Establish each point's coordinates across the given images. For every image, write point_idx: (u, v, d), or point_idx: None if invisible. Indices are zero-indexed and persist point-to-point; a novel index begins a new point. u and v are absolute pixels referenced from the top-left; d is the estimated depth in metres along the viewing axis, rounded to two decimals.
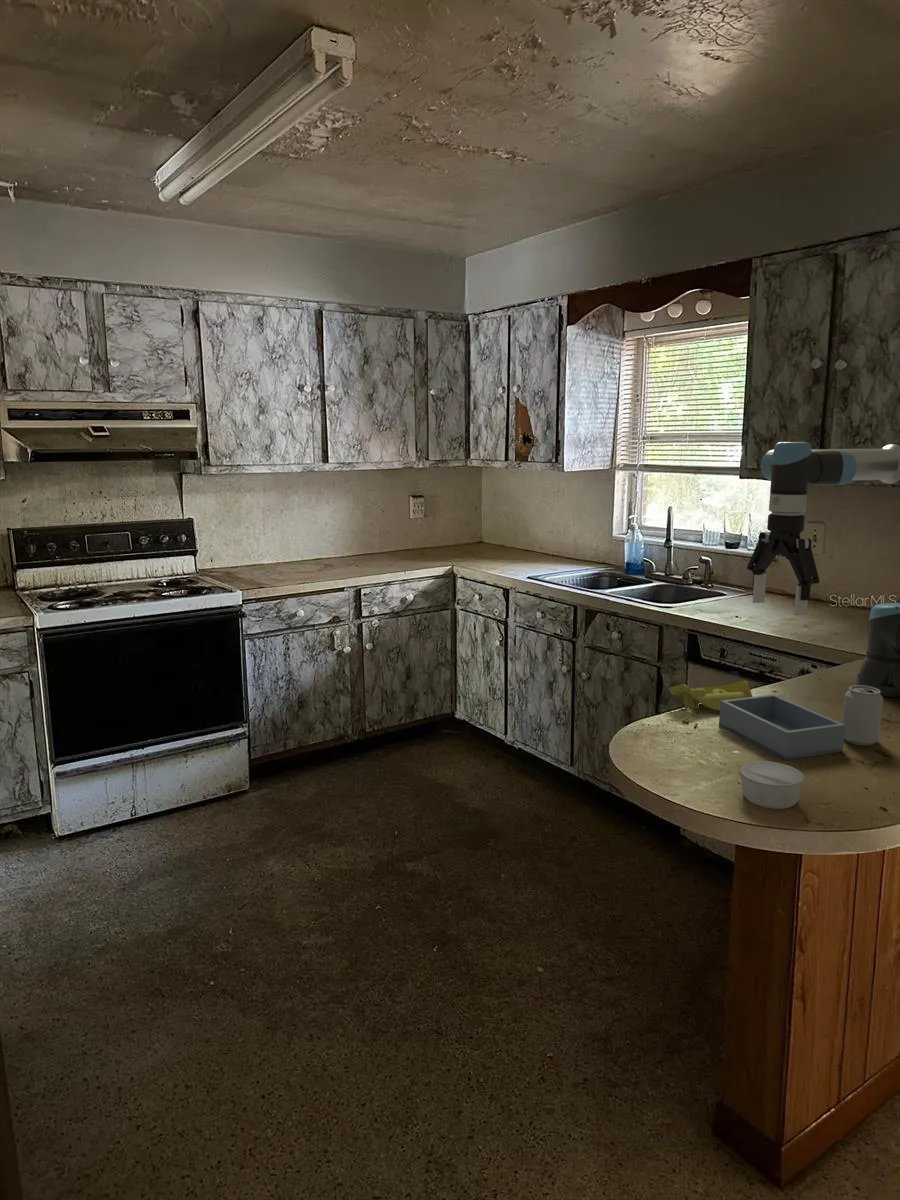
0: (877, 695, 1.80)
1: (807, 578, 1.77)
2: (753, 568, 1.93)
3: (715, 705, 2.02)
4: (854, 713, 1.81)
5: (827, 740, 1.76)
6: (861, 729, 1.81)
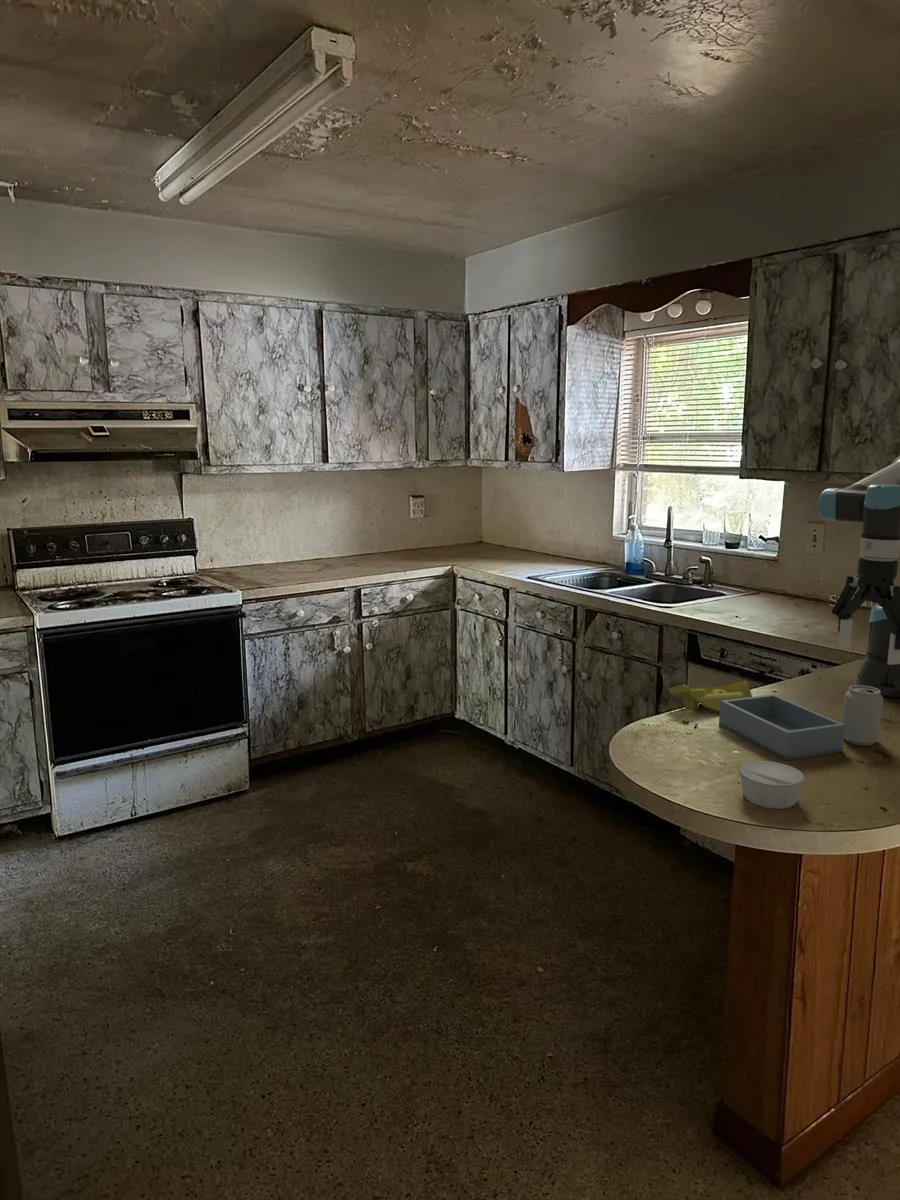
0: (877, 695, 1.80)
1: None
2: (839, 613, 1.86)
3: (715, 705, 2.02)
4: (854, 713, 1.81)
5: (827, 740, 1.76)
6: (861, 729, 1.81)
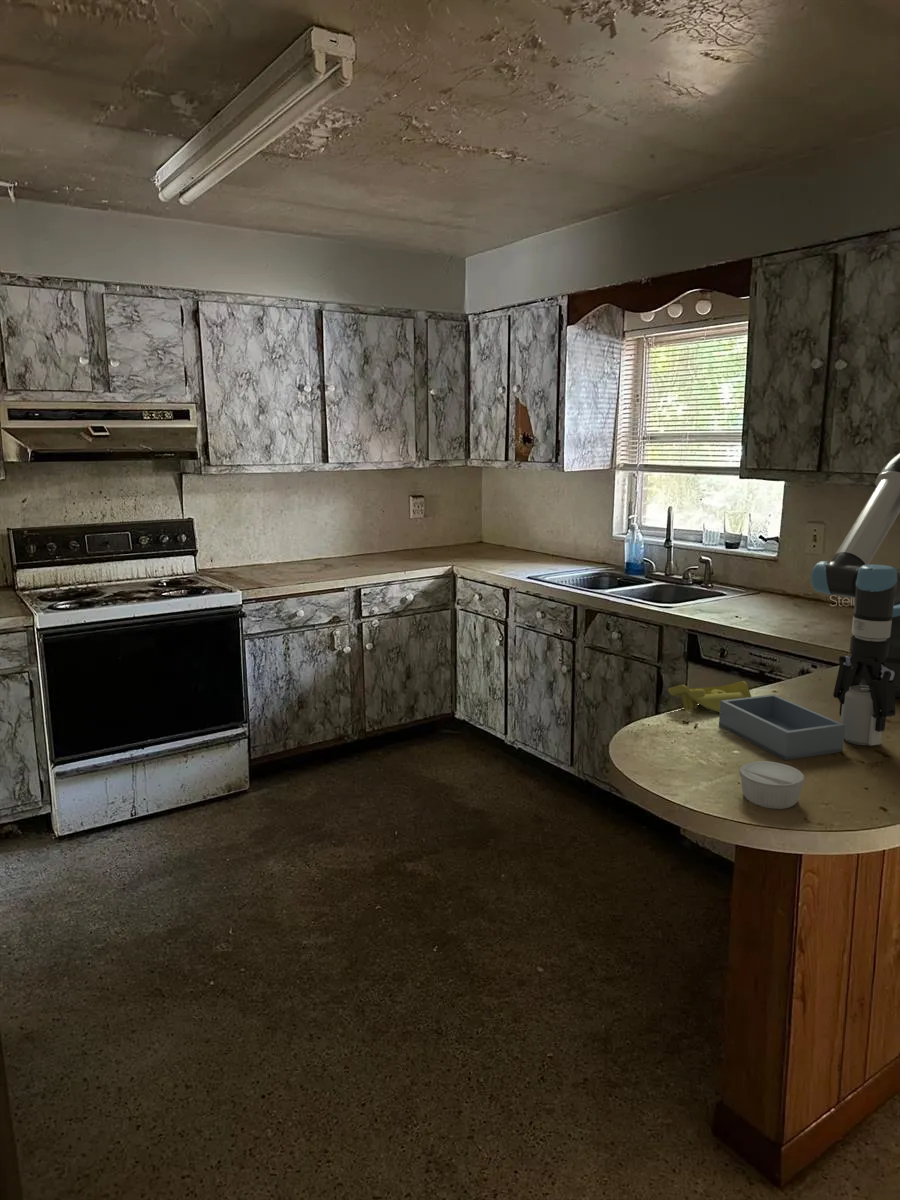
0: None
1: (884, 711, 1.77)
2: (840, 697, 1.88)
3: (714, 706, 2.02)
4: (854, 713, 1.81)
5: (827, 740, 1.76)
6: (861, 729, 1.81)
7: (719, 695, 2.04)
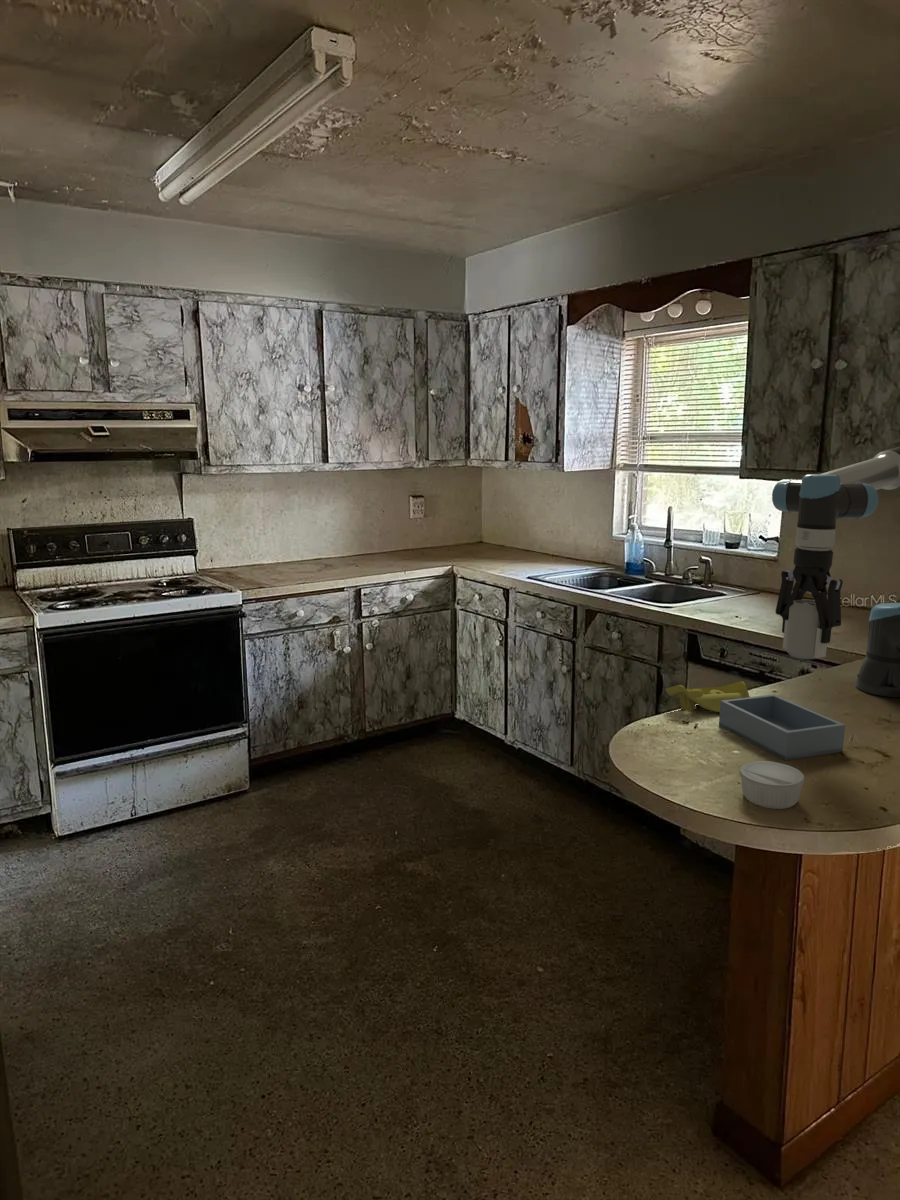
0: None
1: (830, 621, 1.74)
2: (782, 613, 1.84)
3: (712, 706, 2.02)
4: (800, 626, 1.78)
5: (827, 740, 1.76)
6: (807, 642, 1.78)
7: (717, 695, 2.04)
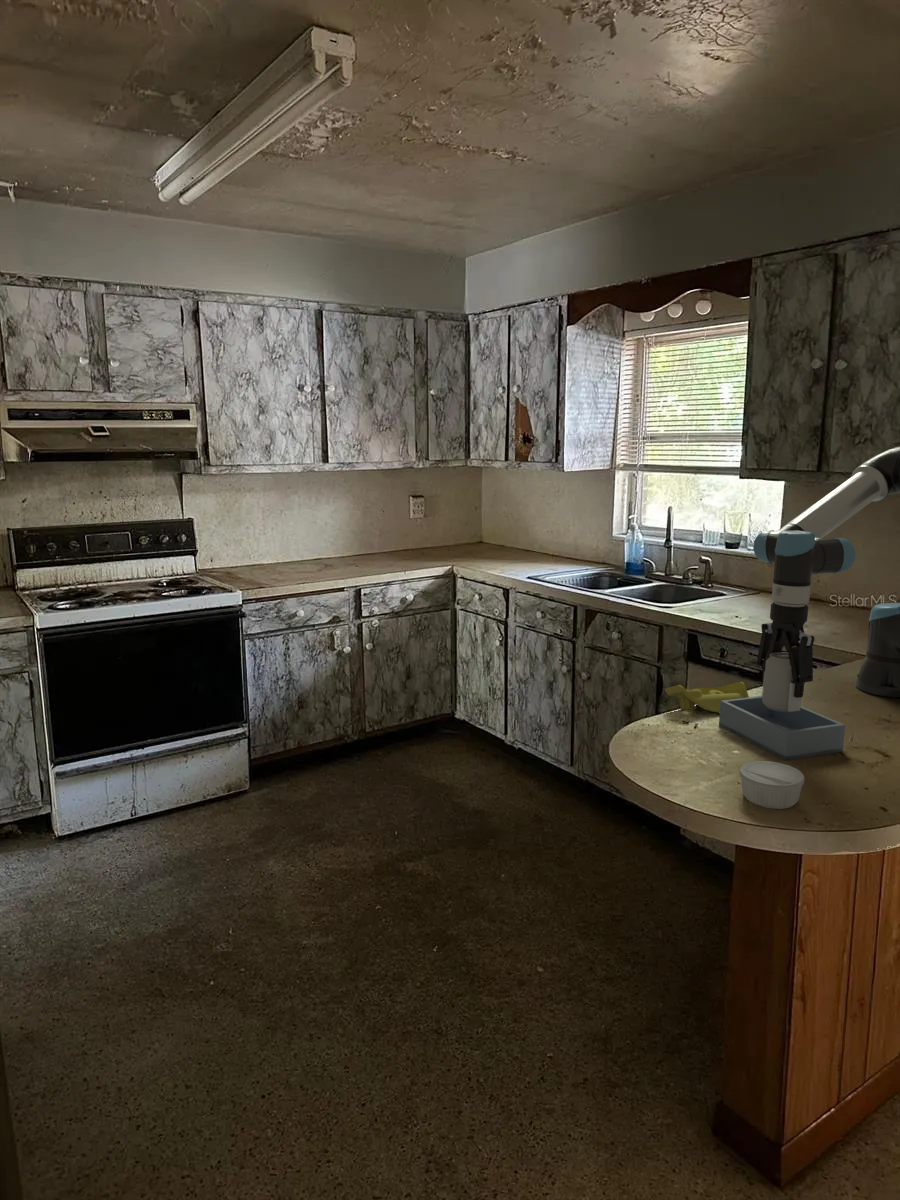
0: None
1: (801, 676, 1.76)
2: (762, 664, 1.88)
3: (711, 706, 2.01)
4: (773, 679, 1.81)
5: (827, 740, 1.76)
6: (780, 695, 1.81)
7: (716, 696, 2.04)
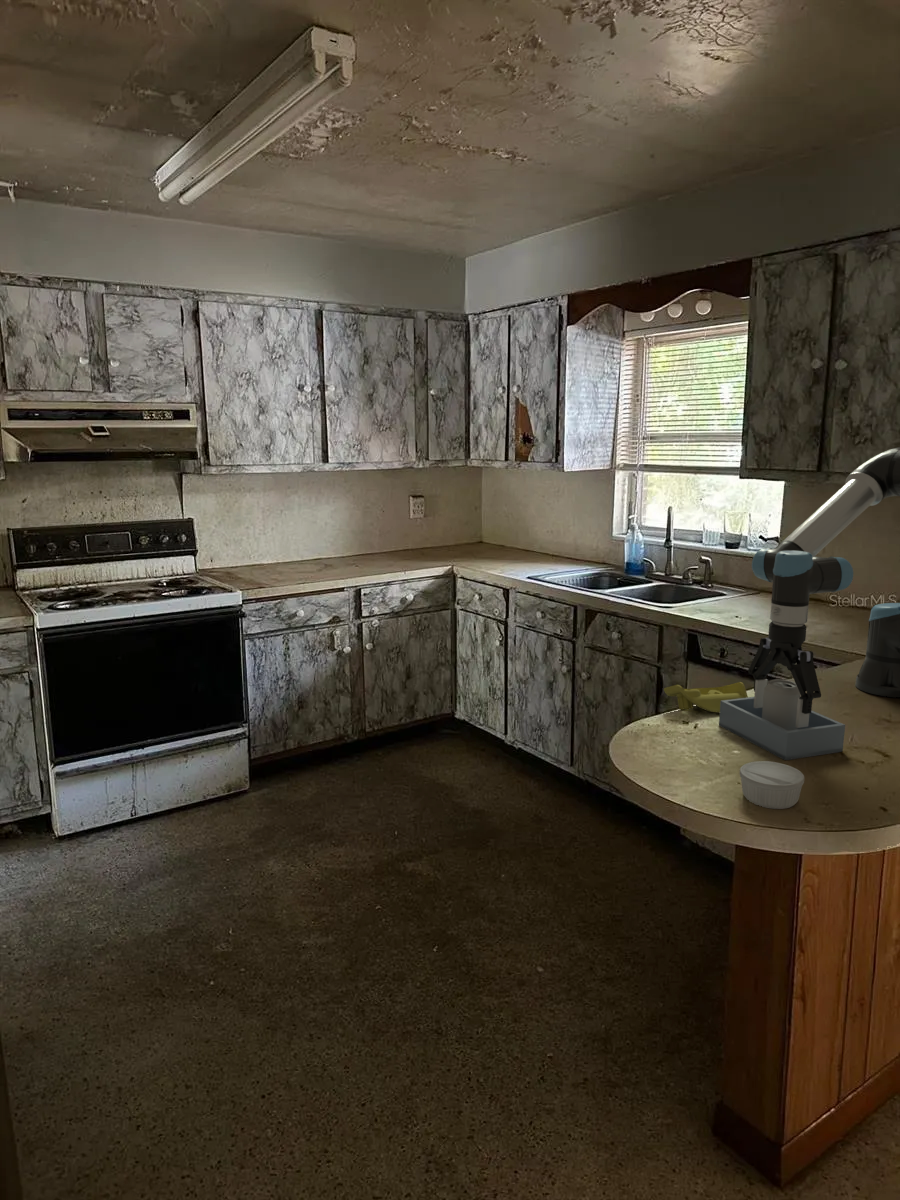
0: (794, 689, 1.81)
1: (809, 692, 1.75)
2: (754, 673, 1.91)
3: (709, 706, 2.01)
4: (772, 707, 1.82)
5: (827, 740, 1.76)
6: (778, 723, 1.82)
7: (715, 696, 2.04)
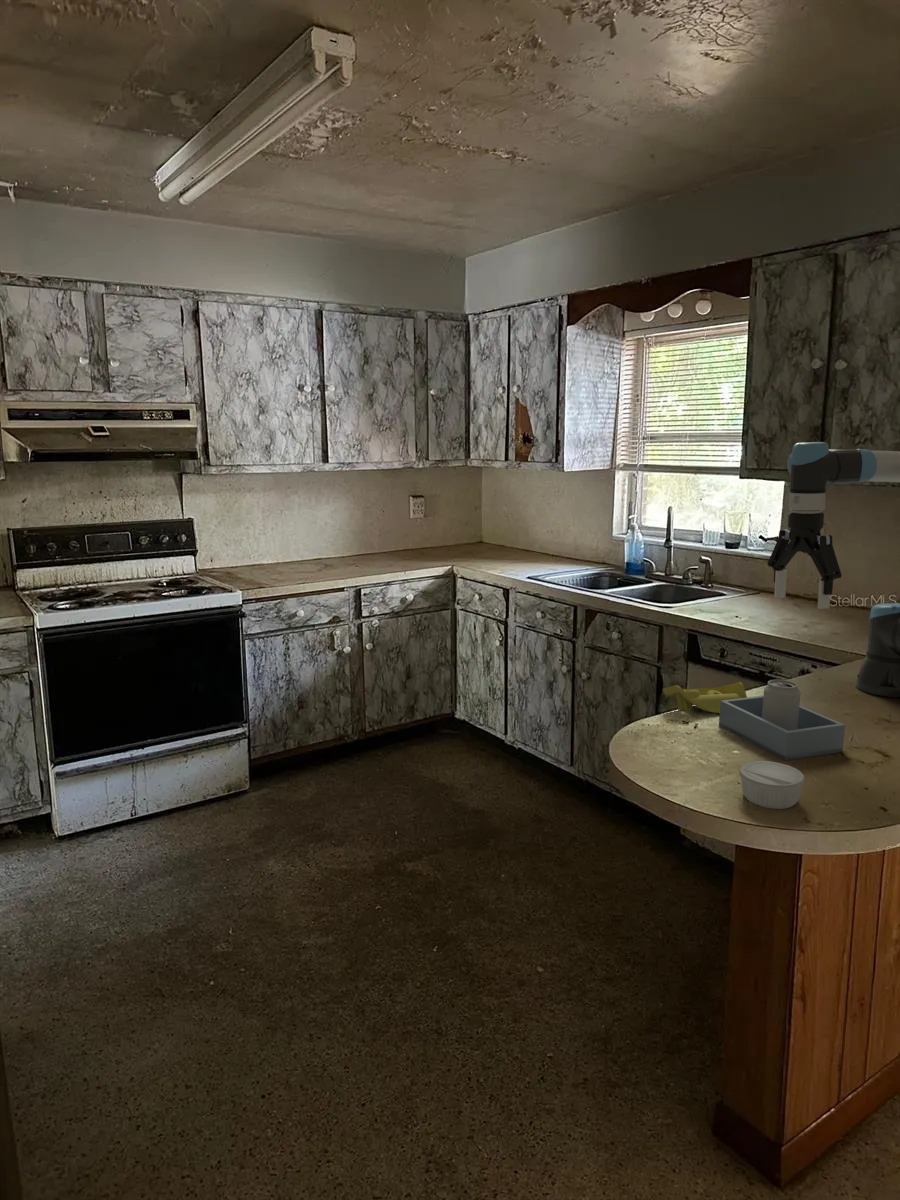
0: (794, 689, 1.81)
1: (830, 573, 1.84)
2: (774, 564, 2.00)
3: (708, 707, 2.01)
4: (772, 707, 1.82)
5: (827, 740, 1.76)
6: (778, 723, 1.82)
7: (714, 696, 2.04)
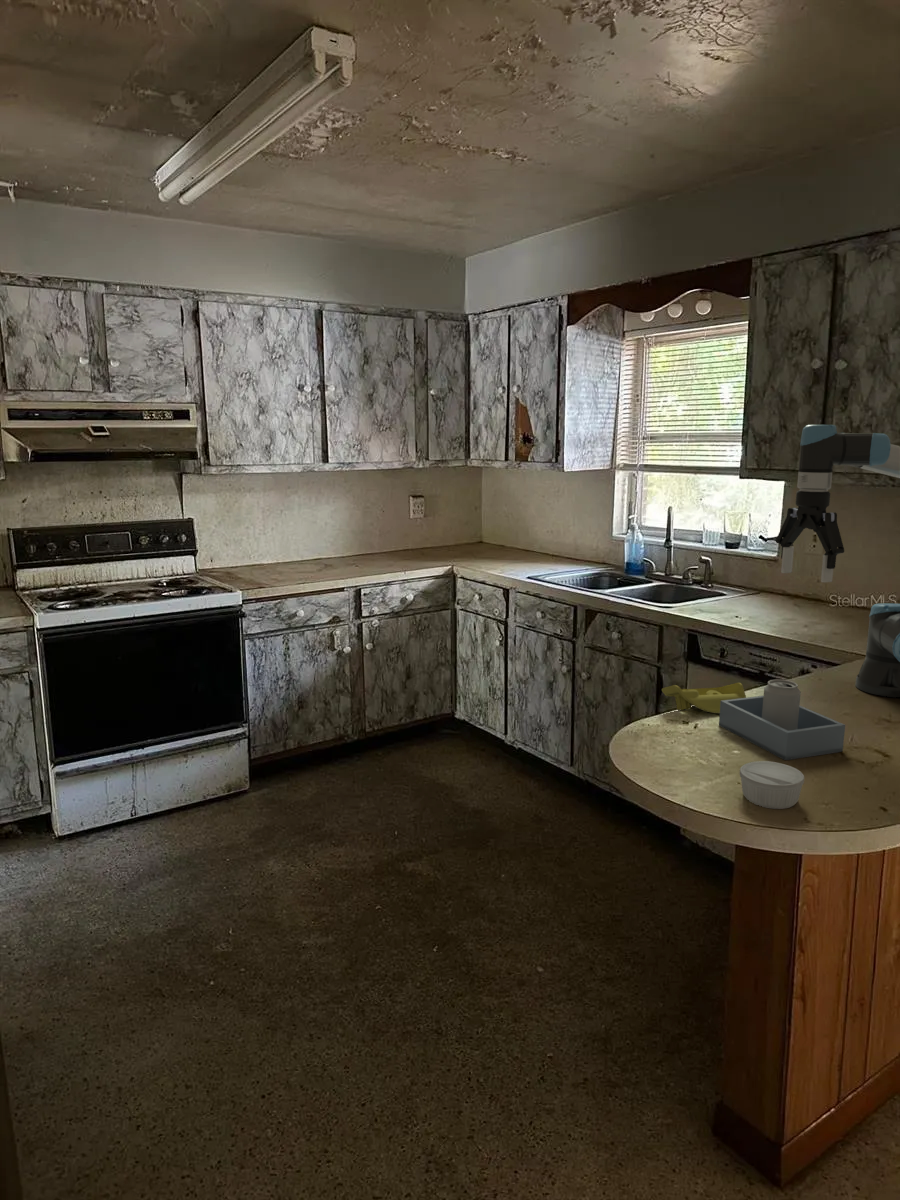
0: (794, 689, 1.81)
1: (833, 548, 1.95)
2: (782, 541, 2.11)
3: (707, 707, 2.01)
4: (772, 707, 1.82)
5: (827, 740, 1.76)
6: (778, 723, 1.82)
7: (713, 696, 2.03)
